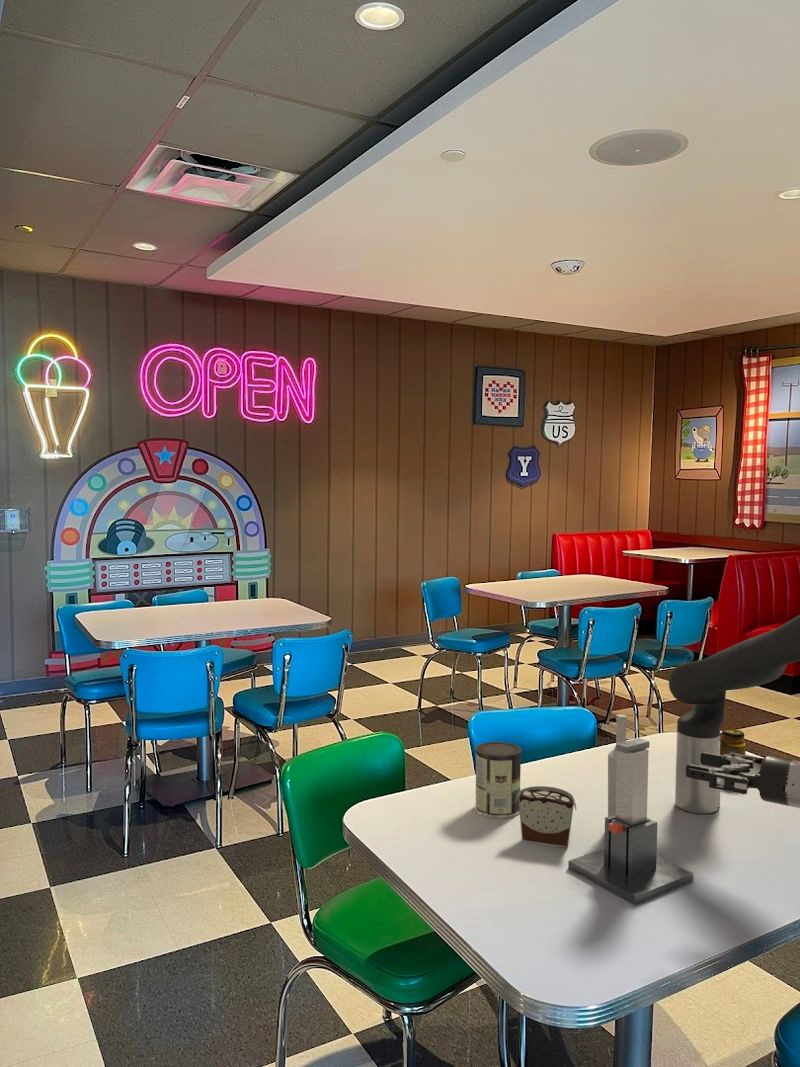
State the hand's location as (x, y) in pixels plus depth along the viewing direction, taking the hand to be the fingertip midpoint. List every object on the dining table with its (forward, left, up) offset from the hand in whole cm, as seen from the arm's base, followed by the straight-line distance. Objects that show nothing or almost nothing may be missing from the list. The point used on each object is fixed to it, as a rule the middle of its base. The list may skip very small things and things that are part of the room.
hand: (693, 763), depth 141 cm
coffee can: (+5, -48, -24) cm, 53 cm away
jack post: (+4, -11, -22) cm, 24 cm away
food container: (+6, -31, -24) cm, 39 cm away
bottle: (-9, -25, -24) cm, 35 cm away
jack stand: (+4, -11, -24) cm, 26 cm away
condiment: (-58, -32, -24) cm, 70 cm away
